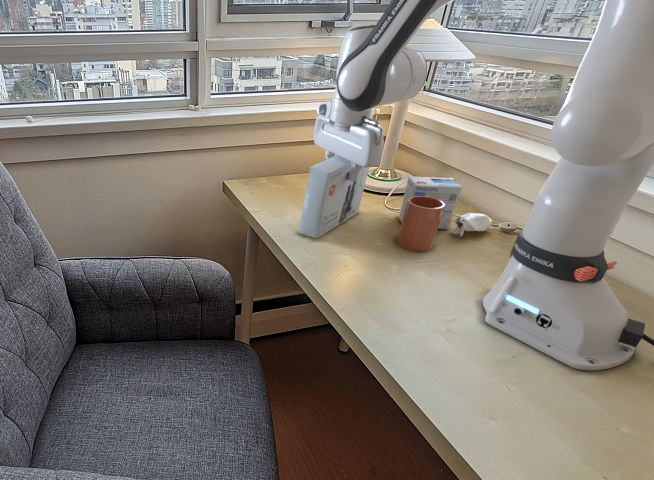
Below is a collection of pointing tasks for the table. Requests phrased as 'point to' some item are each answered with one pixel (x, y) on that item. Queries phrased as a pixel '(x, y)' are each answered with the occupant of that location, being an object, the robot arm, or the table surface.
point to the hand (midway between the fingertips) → (340, 175)
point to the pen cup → (420, 223)
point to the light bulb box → (434, 195)
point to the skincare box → (331, 196)
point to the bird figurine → (472, 223)
